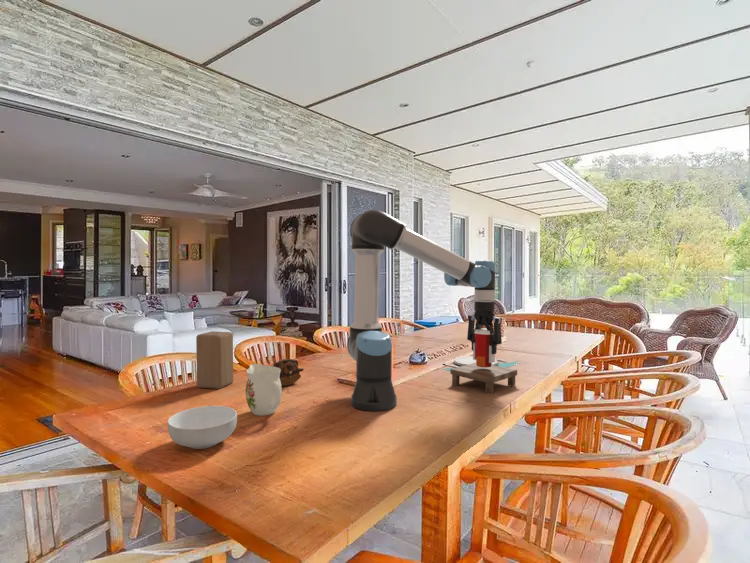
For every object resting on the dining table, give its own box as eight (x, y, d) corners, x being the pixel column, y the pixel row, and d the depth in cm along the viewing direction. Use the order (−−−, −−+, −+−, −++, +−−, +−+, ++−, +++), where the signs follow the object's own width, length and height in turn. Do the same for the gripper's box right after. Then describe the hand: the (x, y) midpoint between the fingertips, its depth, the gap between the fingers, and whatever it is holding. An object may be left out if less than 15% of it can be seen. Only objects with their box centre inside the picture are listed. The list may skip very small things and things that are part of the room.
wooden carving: (272, 391, 159) (272, 364, 159) (264, 389, 162) (264, 362, 162) (305, 381, 172) (305, 356, 172) (297, 380, 175) (297, 355, 175)
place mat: (470, 379, 180) (470, 374, 180) (418, 366, 203) (418, 361, 203) (531, 364, 208) (531, 359, 208) (479, 354, 231) (479, 349, 231)
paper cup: (492, 363, 172) (493, 328, 171) (495, 368, 164) (496, 331, 164) (472, 363, 172) (472, 327, 172) (474, 367, 165) (475, 330, 164)
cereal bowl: (158, 442, 114) (157, 415, 113) (219, 425, 125) (219, 401, 125) (183, 463, 101) (183, 433, 101) (249, 443, 113) (248, 416, 113)
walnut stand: (490, 394, 156) (490, 377, 156) (450, 384, 169) (450, 368, 169) (517, 385, 168) (517, 369, 168) (477, 376, 181) (477, 362, 181)
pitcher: (262, 425, 126) (262, 377, 125) (236, 409, 139) (236, 366, 139) (295, 416, 133) (295, 371, 132) (268, 402, 147) (267, 361, 146)
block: (195, 388, 163) (195, 334, 163) (211, 381, 173) (211, 330, 172) (219, 389, 161) (218, 335, 160) (234, 382, 171) (233, 331, 170)
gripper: (512, 302, 163) (511, 363, 164) (469, 298, 177) (468, 355, 178) (501, 303, 158) (500, 366, 159) (457, 299, 172) (457, 358, 173)
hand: (483, 360), depth 168 cm, fingers closed on paper cup, 6 cm apart
